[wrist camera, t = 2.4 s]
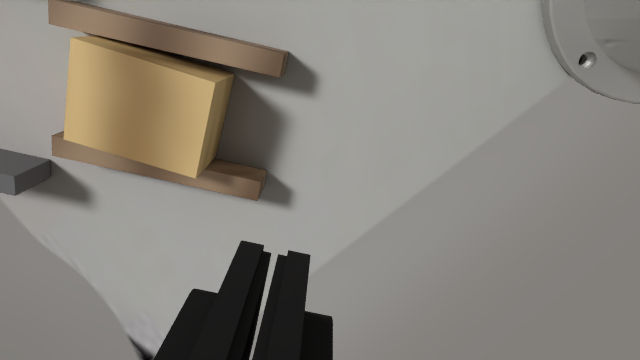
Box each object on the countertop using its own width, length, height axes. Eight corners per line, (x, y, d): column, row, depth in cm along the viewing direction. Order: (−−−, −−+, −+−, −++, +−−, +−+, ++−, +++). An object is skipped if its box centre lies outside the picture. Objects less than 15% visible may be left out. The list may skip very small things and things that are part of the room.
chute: (288, 51, 22) (284, 53, 20) (263, 187, 25) (257, 200, 23) (73, 0, 22) (48, -2, 20) (73, 145, 25) (52, 155, 23)
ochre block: (235, 73, 23) (215, 82, 19) (216, 155, 25) (195, 178, 21) (115, 35, 23) (70, 37, 19) (105, 121, 24) (63, 139, 21)
